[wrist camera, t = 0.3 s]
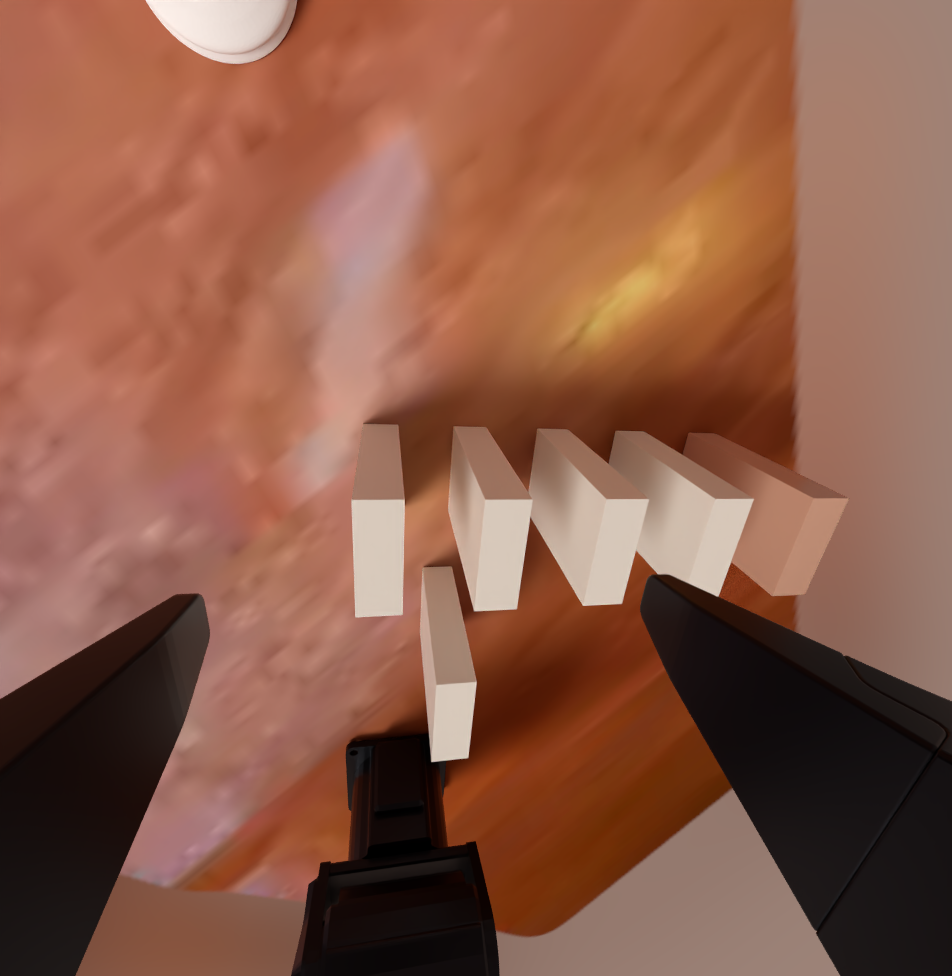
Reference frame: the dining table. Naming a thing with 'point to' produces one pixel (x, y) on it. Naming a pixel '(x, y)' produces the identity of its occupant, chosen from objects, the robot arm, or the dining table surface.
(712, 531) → the domino
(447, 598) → the domino
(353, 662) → the dining table surface
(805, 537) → the domino
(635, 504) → the domino
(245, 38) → the chess piece
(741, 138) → the dining table surface
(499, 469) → the domino
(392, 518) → the domino
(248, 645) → the dining table surface
